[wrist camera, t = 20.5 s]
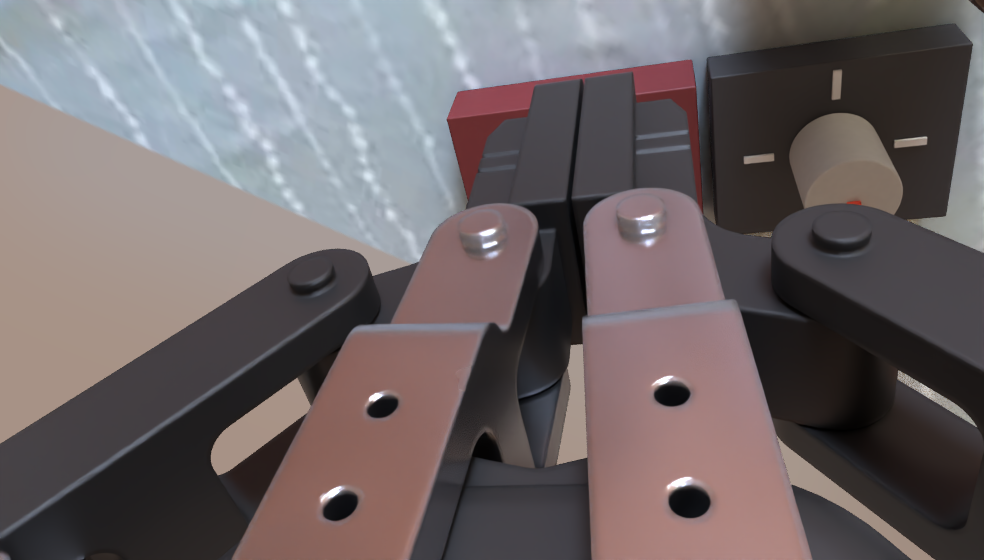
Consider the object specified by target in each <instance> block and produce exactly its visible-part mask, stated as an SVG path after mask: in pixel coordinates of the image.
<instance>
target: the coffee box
mask: <svg viewBox="0 0 984 560" xmlns="http://www.w3.org/2000/svg"><path fill="white" fill-rule="evenodd" d="M969 1H970V2H971V3H972V4H974V5H975V6H976V7H977V8H978V9H979V10H981V11H982V12H983V13H984V0H969Z"/></svg>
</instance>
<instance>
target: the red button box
mask: <svg viewBox="0 0 984 560" xmlns="http://www.w3.org/2000/svg"><path fill="white" fill-rule="evenodd" d="M631 71H633V75H634V83H635V92H636V101H637V103H639V102H647V101H655V100H663V99H672V100H673V101H674V102H675V103H676V104H677V105H679V106H680V107H681V108H682V109H683V110H685V111H686V112H687V119H688V127H689V135H690V143H691V152H692V160H693V168H694V176H695V184H696V193H697V201H698V205H699V207H700V209H701V212H702V214H703V201H702V183H701V165H700V147H699V129H698V111H697V94H696V83H695V76H694V70H693V63H692V60H685V61H677V62H670V63H663V64H656V65H648V66H641V67H634V68H627V69H619V70H612V71H605V72H598V73H590V74H583V75H576V76H569V77H561V78H554V79H547V80H540V81H532V82H525V83H518V84H511V85H503V86H496V87H489V88H482V89H474V90H467V91H460V92H458V93H457V95H456V98H455V100H454V102H453V105H452V107H451V110H450V112H449V115H448V117H447V122H448V126H449V129H450V133H451V137H452V141H453V145H454V149H455V153H456V156H457V160H458V164H459V168H460V172H461V176H462V180H463V183H464V187H465V191H466V195H467V199H468V200H469V197H470V193H471V190H472V187H473V183H474V180H475V177H476V173H478V167H479V163H480V160H481V158H482V153H483V150H484V147H485V143H486V140H487V137H488V136H489V135H490V134H491V133H492V132H493V131H494V130H495V129H496V128H497V127H498V126H499V125H500V124H501V123H502V122H503V121H504V120H507V119H515V118H523V117H527V116H528V112H529V107H530V103H531V98H532V94H533V90H534V86H535V85H537V84H544V83H551V82H559V81H566V80H573V79H582V80H583V83H584V81H585V78H587V77H594V76H602V75H609V74H616V73H624V72H631Z"/></svg>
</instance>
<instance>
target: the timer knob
mask: <svg viewBox="0 0 984 560" xmlns="http://www.w3.org/2000/svg"><path fill="white" fill-rule="evenodd" d="M789 160H790V165H791V168H792V171H793V174H794V178H795V181H796V184H797V187H798V190H799V194H800V197H801V200H802V203H803V206H804V209H805V208H808V207H813V206H817V205H824V204H838V203H844V204H857V205H864V206H869V207H873V208H877V209H880V210H882V211H885V212H888V213H890V214H893V215H894V214H895V212H896V211H897V209H898V207H899V205H900V203H901V200H902V195H903V186H902V182H901V179H900V177H899V175H898V173H897V171H896V169H895V168H894V166H893V164H892V162H891V160H890V158H889V156H888V154H887V152H886V150H885V148H884V146H883V144H882V142H881V140H880V138H879V137H878V135H877V133H876V131H875V129H874V128H873V126H872V125H871V124H870V123H869V122H868V121H867V120H865V119H863V118H862V117H859V116H857V115H853V114H848V113H834V114H829V115H825V116H822V117H820V118H817V119H815V120H814V121H812V122H810V123H809V124H807V125H806V126H805V127H804V128H803V129H802V130H801V131H800V132H799V133H798V134H797V136H796V137H795V139H794V141H793V143H792V145H791V148H790V153H789Z"/></svg>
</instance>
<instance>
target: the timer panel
mask: <svg viewBox="0 0 984 560" xmlns="http://www.w3.org/2000/svg"><path fill="white" fill-rule="evenodd" d="M972 46H973V44H972V42H971V41H970V40H969V39H968V38H967V36H966V35H965V34H964V33H963V32H962V31H961V30H960V29H959V27H958V26H957V25H956V24H947V25H939V26H932V27H925V28H918V29H910V30H903V31H896V32H889V33H881V34H874V35H867V36H860V37H852V38H845V39H838V40H831V41H823V42H816V43H809V44H802V45H794V46H787V47H780V48H773V49H765V50H758V51H751V52H744V53H736V54H729V55H722V56H715V57H708V58H707V72H708V94H709V115H710V137H711V158H712V179H713V201H714V214H715V221H716V225H717V226H719V227H721V228H723V229H726V230H729V231H731V232H735V233H739V234H748V233H759V232H771V231H774V229H775V228H776V226H777V225H778V224H779V223H780V222H781V221H782V220H783V219H784V218H786V217H787V216H789V215H791V214H793V213H795V212H797V211H799V210H802V209H804V206H803V203H802V200H801V197H800V194H799V190H798V187H797V184H796V181H795V178H794V174H793V171H792V168H791V165H790V160H789V153H790V148H791V145H792V143H793V141H794V139H795V137H796V136H797V134H798V133H799V132H800V131H801V130H802V129H803V128H804V127H805V126H806V125H807V124H809V123H810V122H812V121H814V120H815V119H817V118H820V117H822V116H825V115H829V114H834V113H848V114H853V115H857V116H859V117H862V118H863V119H865V120H867V121H868V122H869V123H870V124H871V125H872V126H873V128H874V129H875V131H876V133H877V135H878V137H879V138H880V140H881V142H882V144H883V146H884V148H885V150H886V152H887V154H888V156H889V158H890V160H891V162H892V164H893V166H894V168H895V169H896V171H897V173H898V175H899V177H900V179H901V182H902V186H903V195H902V200H901V203H900V205H899V207H898V209H897V211H896V212H895V214H894V215H895V216H897V217H900V218H902V219H904V220H908V219H920V218H931V217H943V216H946V212H947V206H948V199H949V193H950V187H951V180H952V174H953V167H954V161H955V155H956V148H957V142H958V136H959V129H960V123H961V116H962V110H963V104H964V97H965V91H966V85H967V78H968V72H969V65H970V59H971V53H972Z"/></svg>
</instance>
